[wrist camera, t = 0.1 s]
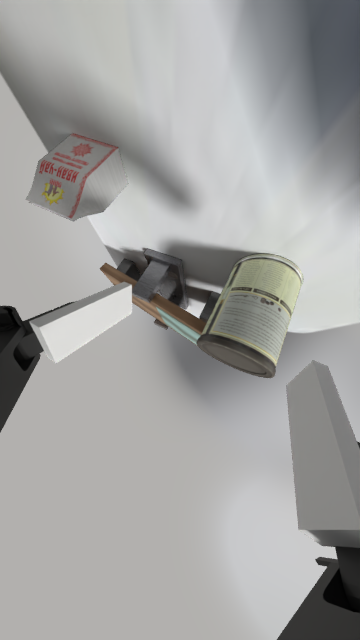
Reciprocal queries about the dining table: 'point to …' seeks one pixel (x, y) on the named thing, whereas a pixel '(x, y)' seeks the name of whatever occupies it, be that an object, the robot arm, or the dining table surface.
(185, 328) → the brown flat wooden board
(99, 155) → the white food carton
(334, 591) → the robot arm
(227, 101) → the dining table surface
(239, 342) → the coffee can
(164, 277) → the pivot stand
